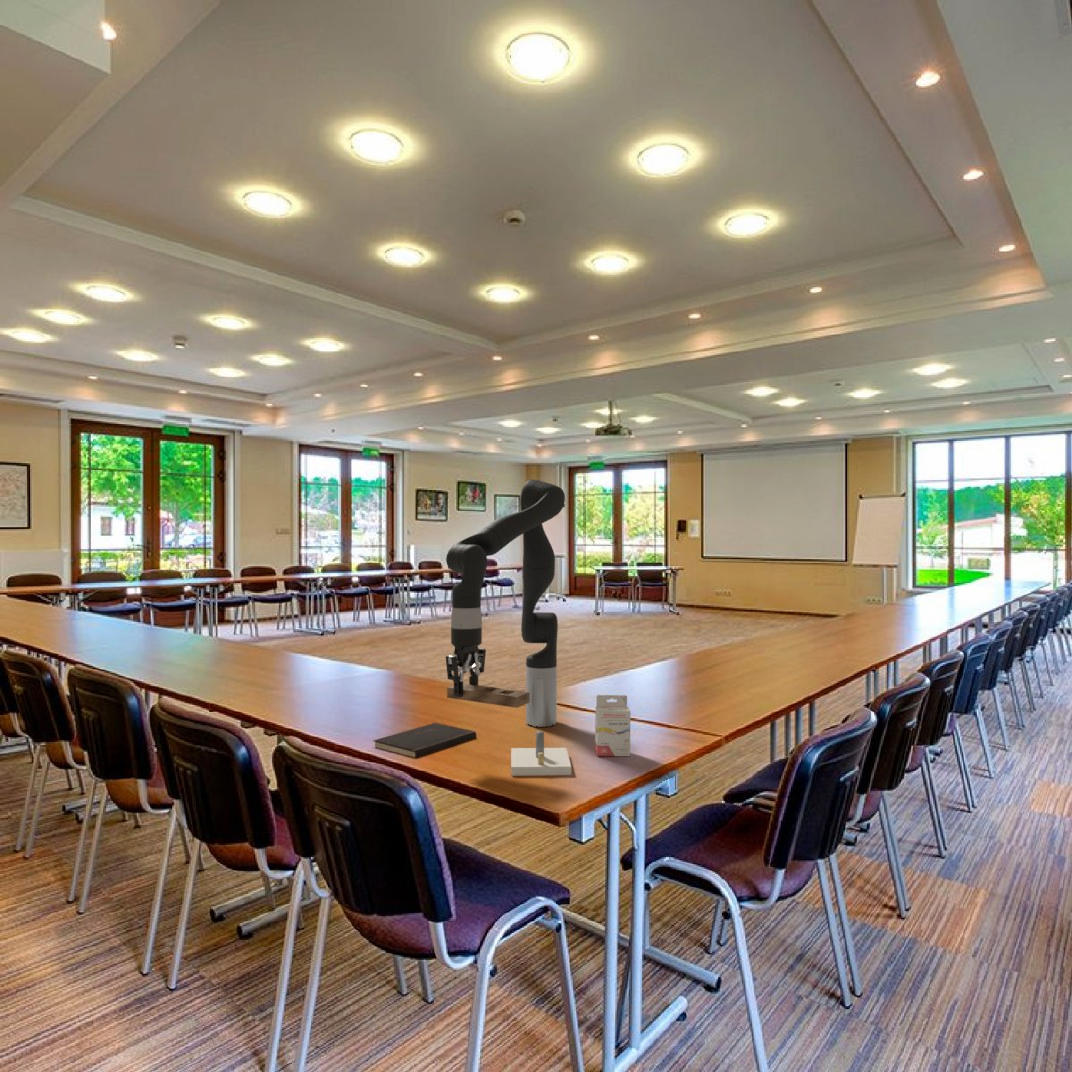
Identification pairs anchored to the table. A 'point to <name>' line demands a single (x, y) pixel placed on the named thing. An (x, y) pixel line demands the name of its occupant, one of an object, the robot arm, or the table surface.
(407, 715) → the table surface
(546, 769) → the post base
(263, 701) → the table surface
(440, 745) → the hardcover book
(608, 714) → the ink cartridge box
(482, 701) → the walnut bar
